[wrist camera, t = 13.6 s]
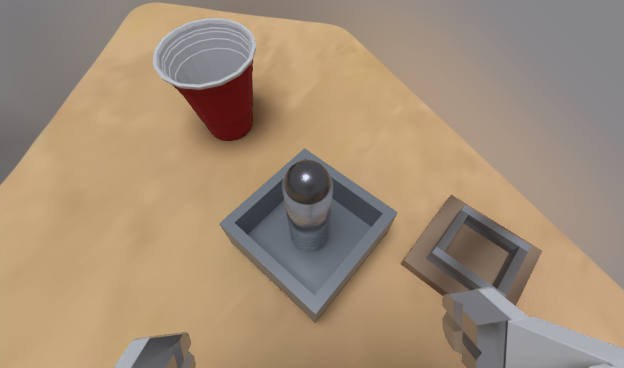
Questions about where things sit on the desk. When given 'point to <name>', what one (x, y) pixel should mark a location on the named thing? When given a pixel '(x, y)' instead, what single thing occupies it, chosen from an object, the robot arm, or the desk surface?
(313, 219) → the strut
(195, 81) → the plastic cup
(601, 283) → the desk surface
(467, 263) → the socket plate
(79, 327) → the desk surface
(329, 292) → the bin
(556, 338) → the robot arm
